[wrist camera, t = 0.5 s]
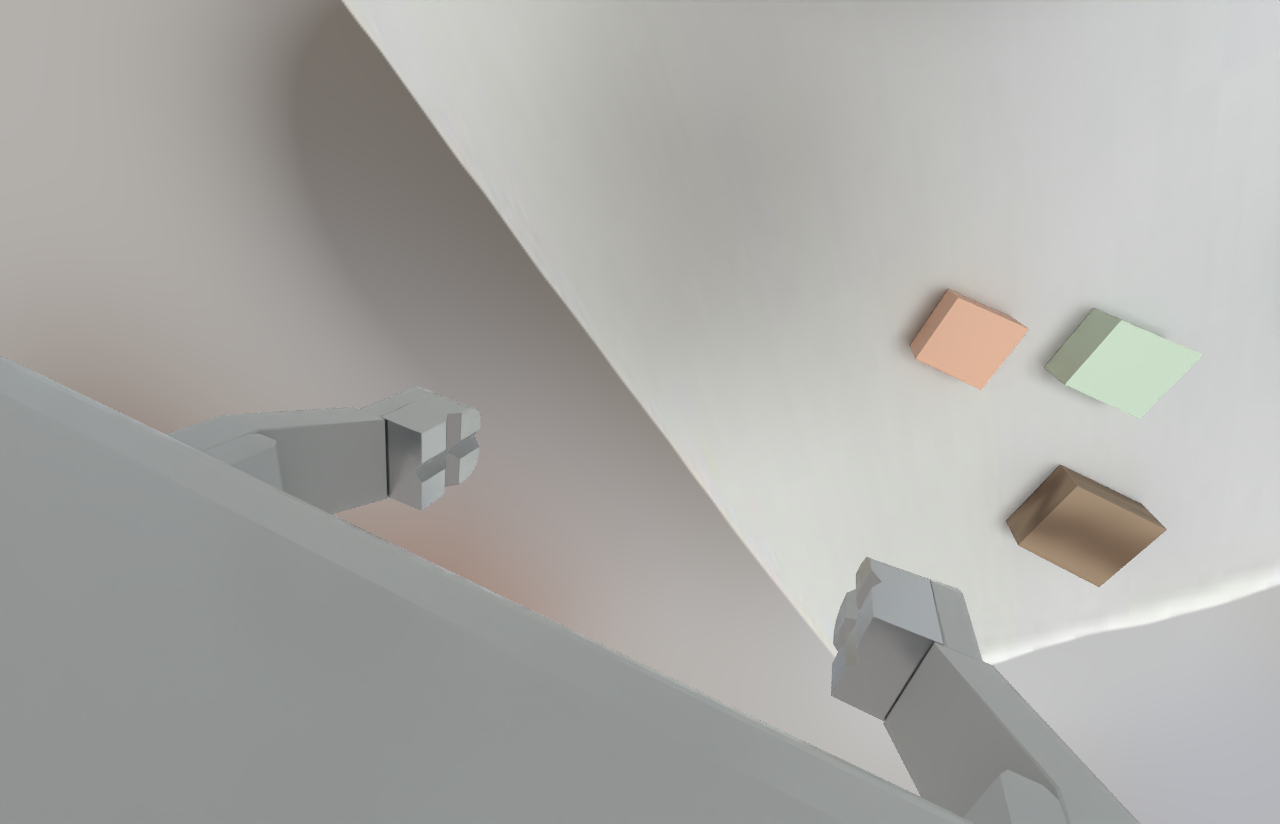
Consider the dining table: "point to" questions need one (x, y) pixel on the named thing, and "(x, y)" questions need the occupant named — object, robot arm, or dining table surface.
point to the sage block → (1120, 363)
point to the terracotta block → (966, 339)
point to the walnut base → (1083, 526)
